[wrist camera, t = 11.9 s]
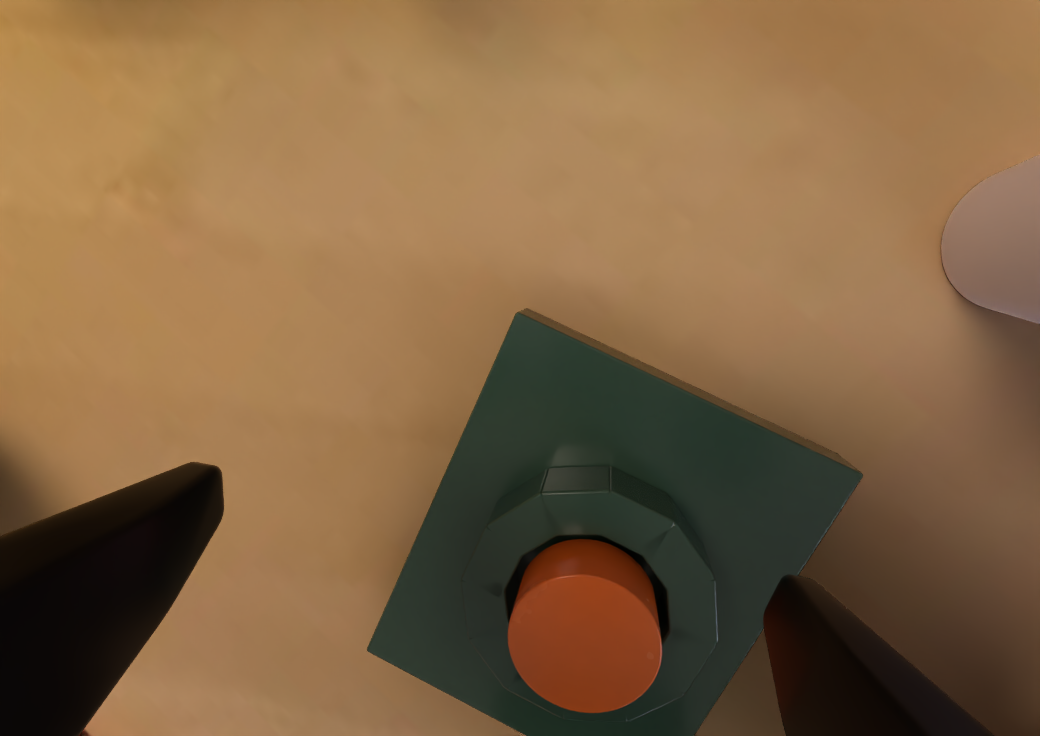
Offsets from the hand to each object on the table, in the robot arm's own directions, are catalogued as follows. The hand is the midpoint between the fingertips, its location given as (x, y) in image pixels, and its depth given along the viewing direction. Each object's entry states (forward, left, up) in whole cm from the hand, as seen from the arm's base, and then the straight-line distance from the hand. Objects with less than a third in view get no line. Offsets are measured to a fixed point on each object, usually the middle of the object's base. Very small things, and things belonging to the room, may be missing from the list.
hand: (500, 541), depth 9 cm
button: (-3, -3, -5) cm, 7 cm away
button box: (-3, -3, -8) cm, 10 cm away
